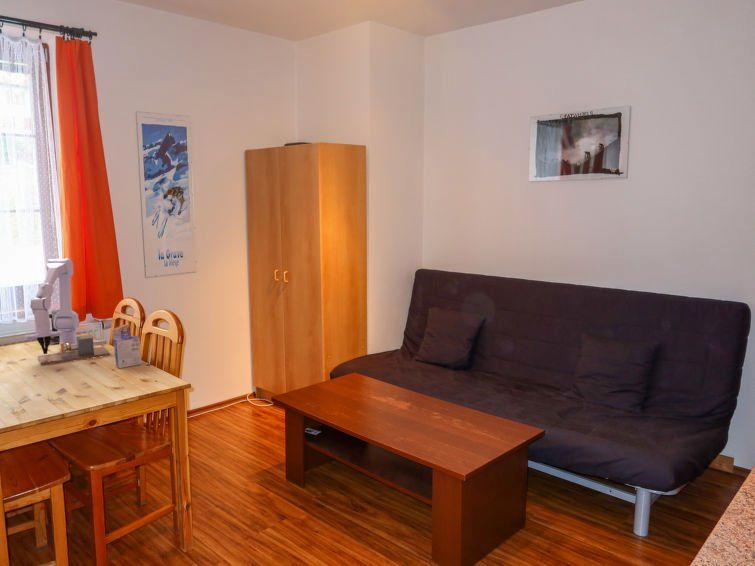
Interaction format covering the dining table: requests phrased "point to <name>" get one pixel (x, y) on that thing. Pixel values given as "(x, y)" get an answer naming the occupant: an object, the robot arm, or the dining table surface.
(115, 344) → the ink cartridge box
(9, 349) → the dining table surface
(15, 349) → the dining table surface
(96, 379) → the dining table surface
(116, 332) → the candy box
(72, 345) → the shaft
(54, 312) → the milk frother
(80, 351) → the bearing base
